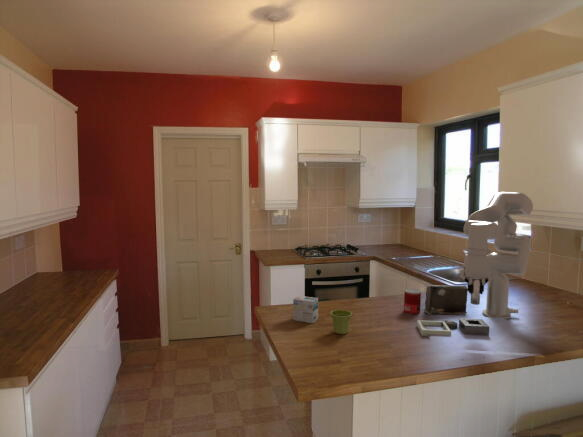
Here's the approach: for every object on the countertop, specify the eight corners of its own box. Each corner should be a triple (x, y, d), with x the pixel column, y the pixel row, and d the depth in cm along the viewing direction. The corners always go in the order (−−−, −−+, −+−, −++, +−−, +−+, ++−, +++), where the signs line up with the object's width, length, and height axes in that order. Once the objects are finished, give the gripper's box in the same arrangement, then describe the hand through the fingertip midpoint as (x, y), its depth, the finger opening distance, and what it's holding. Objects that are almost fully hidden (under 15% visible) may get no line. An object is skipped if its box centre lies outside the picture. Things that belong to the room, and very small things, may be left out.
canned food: (420, 314, 200) (421, 293, 199) (404, 313, 202) (405, 292, 201) (419, 309, 208) (420, 289, 207) (403, 308, 209) (404, 288, 208)
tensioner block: (481, 330, 180) (482, 319, 180) (488, 337, 171) (489, 326, 171) (458, 328, 182) (459, 318, 181) (464, 336, 173) (464, 325, 172)
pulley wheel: (454, 325, 186) (455, 319, 185) (459, 331, 179) (459, 324, 178) (439, 324, 186) (439, 318, 186) (443, 330, 180) (443, 323, 179)
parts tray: (444, 327, 184) (444, 321, 183) (450, 337, 172) (451, 331, 172) (417, 325, 185) (417, 320, 185) (422, 335, 173) (422, 329, 173)
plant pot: (326, 329, 180) (326, 311, 179) (344, 326, 184) (344, 308, 183) (336, 337, 172) (337, 317, 171) (355, 334, 175) (355, 314, 175)
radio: (464, 309, 209) (465, 281, 208) (473, 314, 201) (474, 285, 199) (421, 310, 207) (422, 282, 205) (429, 316, 198) (430, 287, 197)
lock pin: (478, 302, 177) (479, 277, 176) (480, 304, 173) (481, 280, 172) (469, 301, 177) (470, 277, 176) (472, 304, 174) (473, 279, 172)
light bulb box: (318, 319, 194) (318, 297, 193) (313, 323, 188) (313, 301, 187) (298, 316, 198) (298, 294, 197) (292, 320, 192) (292, 298, 191)
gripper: (494, 250, 175) (492, 291, 177) (454, 249, 178) (453, 290, 180) (500, 253, 168) (498, 296, 170) (459, 253, 170) (458, 295, 172)
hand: (475, 292), depth 175 cm, fingers closed on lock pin, 3 cm apart
